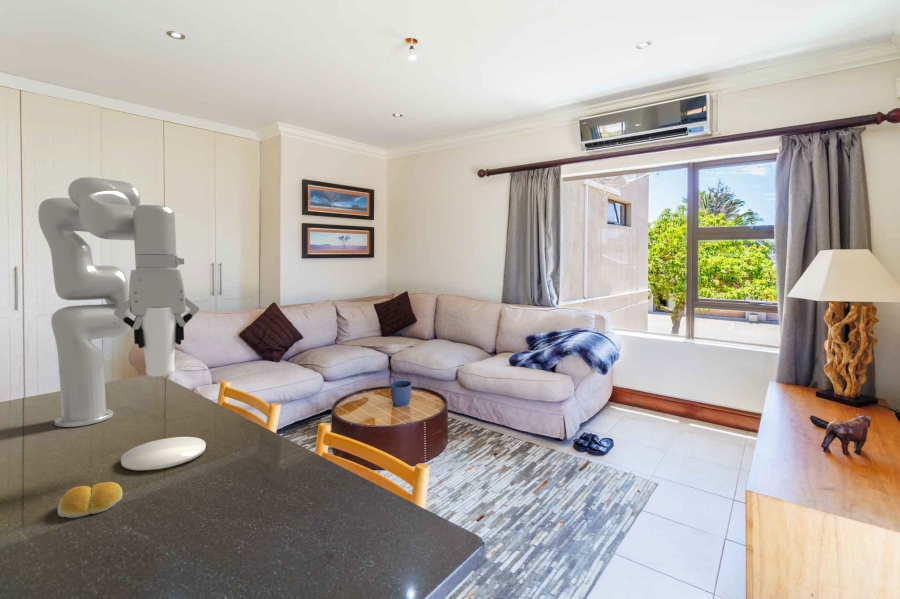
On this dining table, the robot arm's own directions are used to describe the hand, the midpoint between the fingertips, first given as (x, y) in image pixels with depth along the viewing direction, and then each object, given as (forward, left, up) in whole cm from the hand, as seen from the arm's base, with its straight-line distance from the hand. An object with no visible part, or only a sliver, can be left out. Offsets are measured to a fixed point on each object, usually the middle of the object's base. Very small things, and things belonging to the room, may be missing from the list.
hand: (159, 344), depth 100 cm
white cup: (0, 0, -7) cm, 7 cm away
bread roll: (+16, -13, -26) cm, 33 cm away
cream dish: (0, 0, -25) cm, 25 cm away
